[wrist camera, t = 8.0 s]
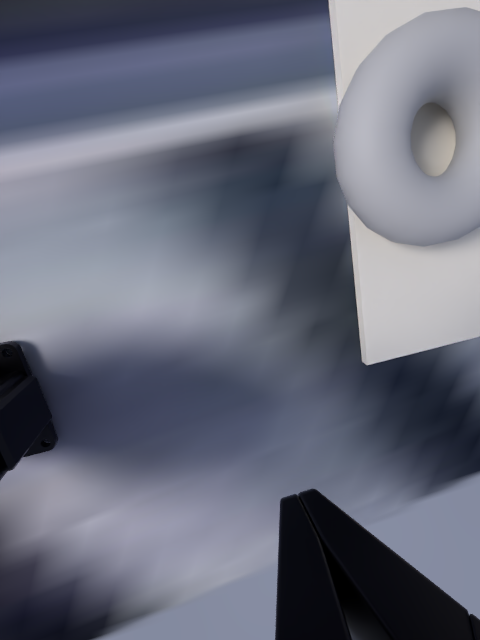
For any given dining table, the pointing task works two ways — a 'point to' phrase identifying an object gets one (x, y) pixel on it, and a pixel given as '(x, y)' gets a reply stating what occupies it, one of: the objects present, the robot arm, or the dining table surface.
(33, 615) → the dining table surface
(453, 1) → the placemat
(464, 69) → the donut
